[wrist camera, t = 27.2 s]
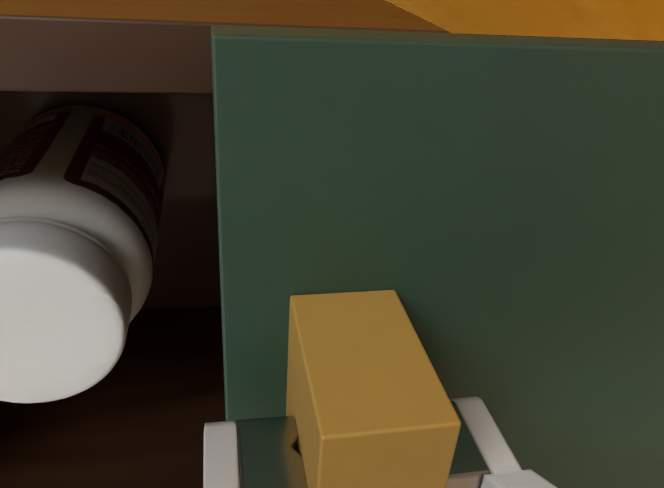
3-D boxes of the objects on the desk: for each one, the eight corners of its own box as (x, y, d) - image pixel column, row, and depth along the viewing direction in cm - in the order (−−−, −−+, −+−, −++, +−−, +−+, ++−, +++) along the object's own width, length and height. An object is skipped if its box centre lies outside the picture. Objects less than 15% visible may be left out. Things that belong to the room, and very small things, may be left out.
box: (-150, -58, 15) (-699, -12, 6) (324, -30, 18) (451, 31, 9) (-30, 326, 22) (-207, 637, 12) (306, 306, 24) (368, 552, 15)
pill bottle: (22, 235, 19) (-86, 424, 12) (1, 95, 17) (-147, 227, 10) (167, 238, 20) (146, 414, 13) (166, 108, 18) (140, 235, 11)
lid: (210, 23, 8) (213, 103, 5) (943, 50, 10) (1280, 112, 7) (231, 576, 14) (239, 772, 11) (681, 510, 17) (795, 653, 13)
